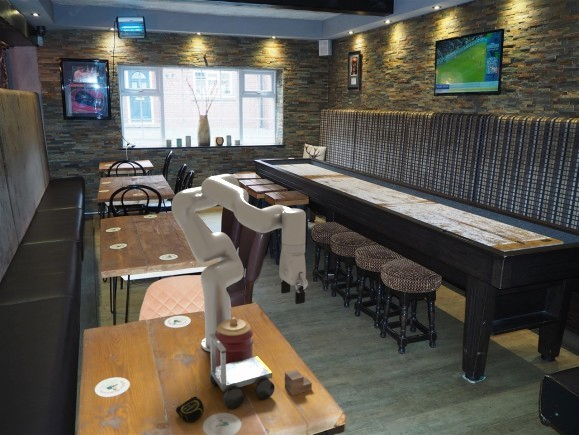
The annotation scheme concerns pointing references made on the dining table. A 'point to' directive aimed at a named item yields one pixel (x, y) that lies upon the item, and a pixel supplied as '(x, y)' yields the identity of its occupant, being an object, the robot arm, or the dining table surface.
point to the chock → (296, 382)
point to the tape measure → (190, 409)
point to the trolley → (238, 376)
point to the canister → (234, 340)
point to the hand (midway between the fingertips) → (292, 297)
